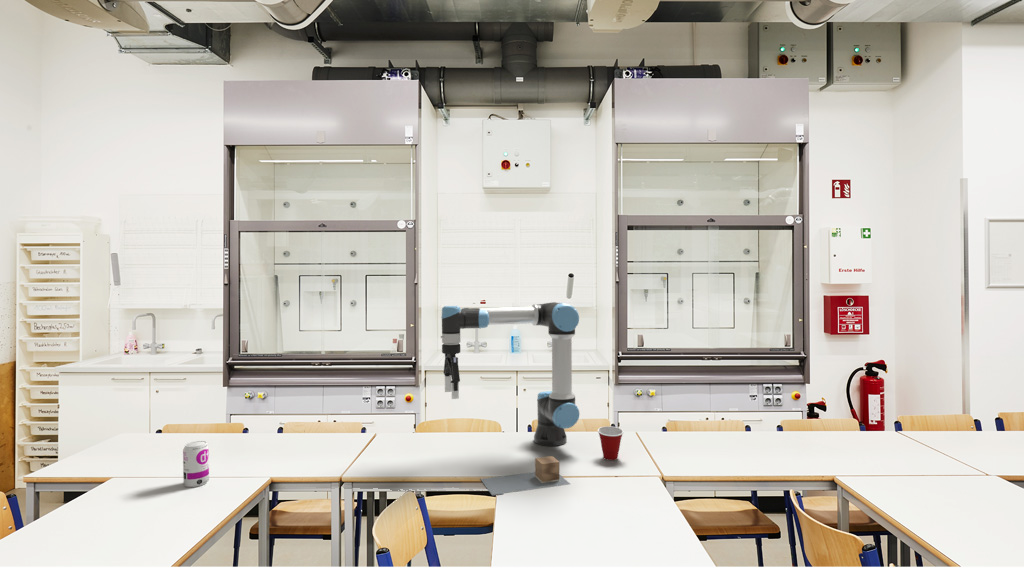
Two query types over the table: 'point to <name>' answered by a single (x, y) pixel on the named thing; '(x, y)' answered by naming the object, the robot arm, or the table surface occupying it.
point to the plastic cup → (610, 441)
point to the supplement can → (196, 464)
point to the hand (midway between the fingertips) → (451, 395)
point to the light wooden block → (547, 469)
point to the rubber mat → (518, 483)
